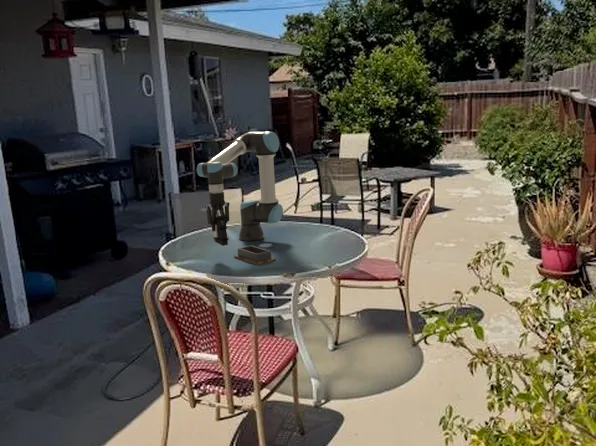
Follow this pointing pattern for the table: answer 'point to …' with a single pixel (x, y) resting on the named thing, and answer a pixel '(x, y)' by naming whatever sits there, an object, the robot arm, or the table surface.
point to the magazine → (221, 231)
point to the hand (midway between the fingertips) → (219, 235)
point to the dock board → (254, 261)
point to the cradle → (254, 253)
